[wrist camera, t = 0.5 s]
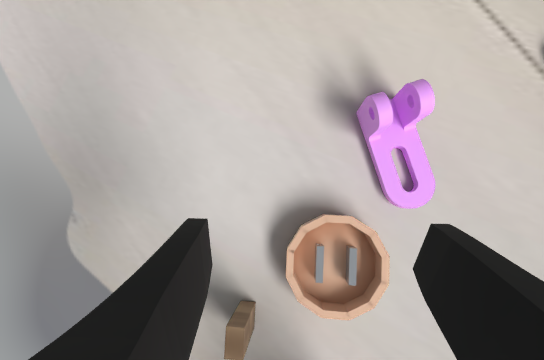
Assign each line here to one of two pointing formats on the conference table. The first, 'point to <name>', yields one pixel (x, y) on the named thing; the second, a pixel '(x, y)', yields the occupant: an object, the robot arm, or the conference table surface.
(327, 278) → the round tan tray
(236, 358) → the long tan beam
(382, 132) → the bracket
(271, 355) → the conference table surface
